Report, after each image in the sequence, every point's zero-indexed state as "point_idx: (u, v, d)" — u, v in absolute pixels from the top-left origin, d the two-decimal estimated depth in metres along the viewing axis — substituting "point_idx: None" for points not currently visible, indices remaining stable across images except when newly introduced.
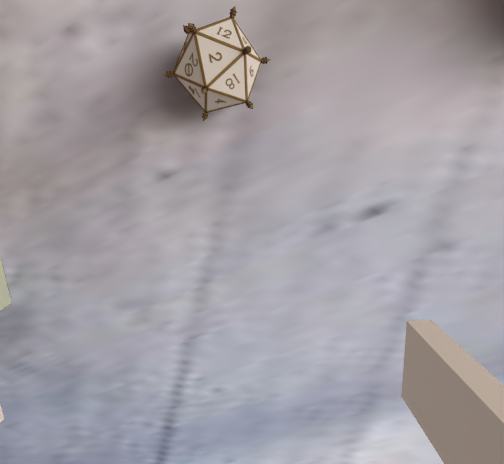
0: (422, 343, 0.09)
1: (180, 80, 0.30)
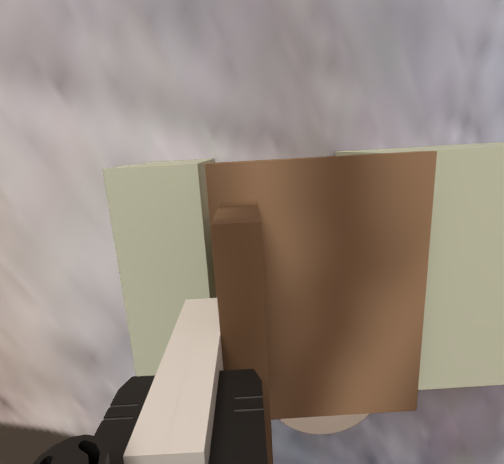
0: (202, 315, 0.11)
1: None
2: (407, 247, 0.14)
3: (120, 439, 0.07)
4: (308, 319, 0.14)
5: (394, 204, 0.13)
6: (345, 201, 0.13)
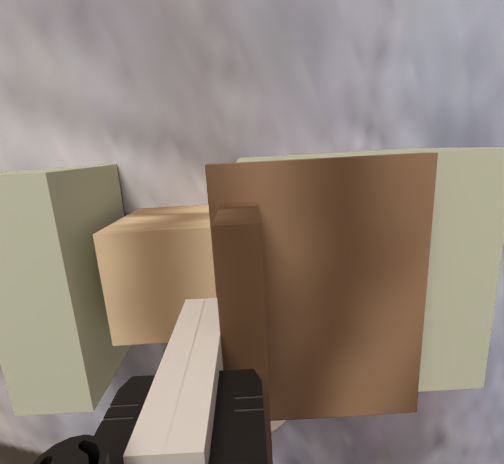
0: (202, 315, 0.11)
1: None
2: (408, 249, 0.14)
3: (120, 439, 0.07)
4: (308, 320, 0.14)
5: (395, 206, 0.13)
6: (346, 203, 0.13)
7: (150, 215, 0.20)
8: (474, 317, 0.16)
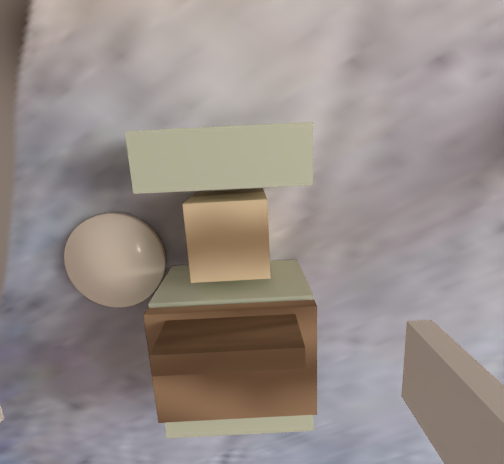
0: (422, 343, 0.09)
1: None
2: (265, 407, 0.25)
3: None
4: None
5: (290, 398, 0.25)
6: (292, 375, 0.24)
7: None
8: (215, 426, 0.27)
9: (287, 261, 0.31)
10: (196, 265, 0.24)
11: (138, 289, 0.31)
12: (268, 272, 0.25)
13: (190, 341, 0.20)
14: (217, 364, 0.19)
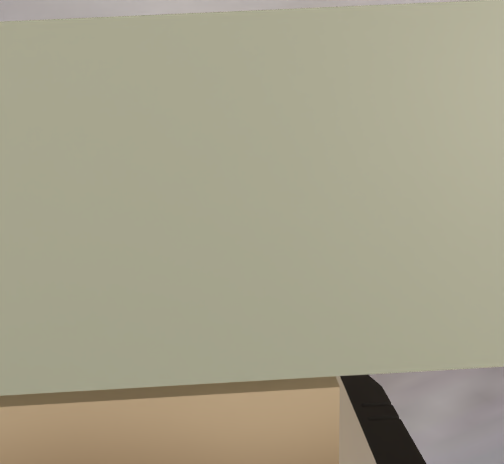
0: None
1: None
2: None
3: None
4: None
5: None
6: None
7: None
8: None
9: None
10: None
11: None
12: None
13: None
14: None
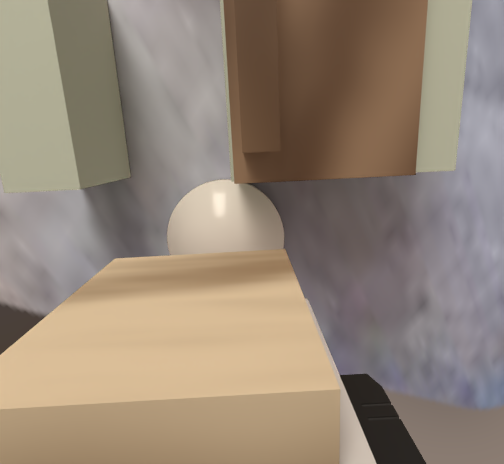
0: None
1: None
2: None
3: None
4: (313, 66, 0.15)
5: None
6: None
7: None
8: (445, 89, 0.17)
9: None
10: None
11: (260, 213, 0.25)
12: None
13: None
14: (260, 33, 0.11)
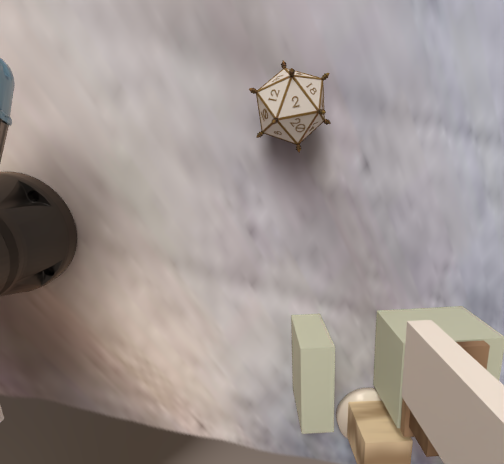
0: (422, 344, 0.09)
1: (303, 138, 0.36)
2: None
3: None
4: None
5: None
6: None
7: None
8: None
9: (377, 318, 0.46)
10: None
11: None
12: None
13: (422, 430, 0.36)
14: None
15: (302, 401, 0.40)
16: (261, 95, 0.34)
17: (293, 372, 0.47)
